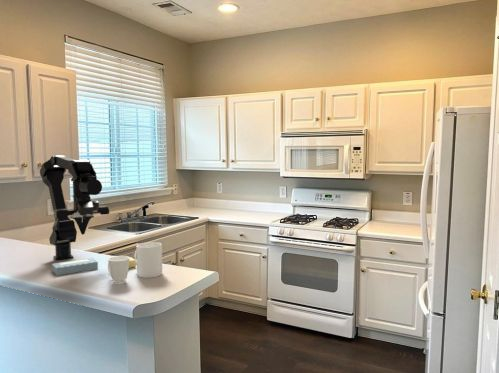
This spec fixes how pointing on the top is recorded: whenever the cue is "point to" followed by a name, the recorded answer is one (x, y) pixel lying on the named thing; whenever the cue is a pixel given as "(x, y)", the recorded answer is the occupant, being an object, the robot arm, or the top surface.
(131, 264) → the yellow box
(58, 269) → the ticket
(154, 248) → the mug
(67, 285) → the top surface
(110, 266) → the cup
